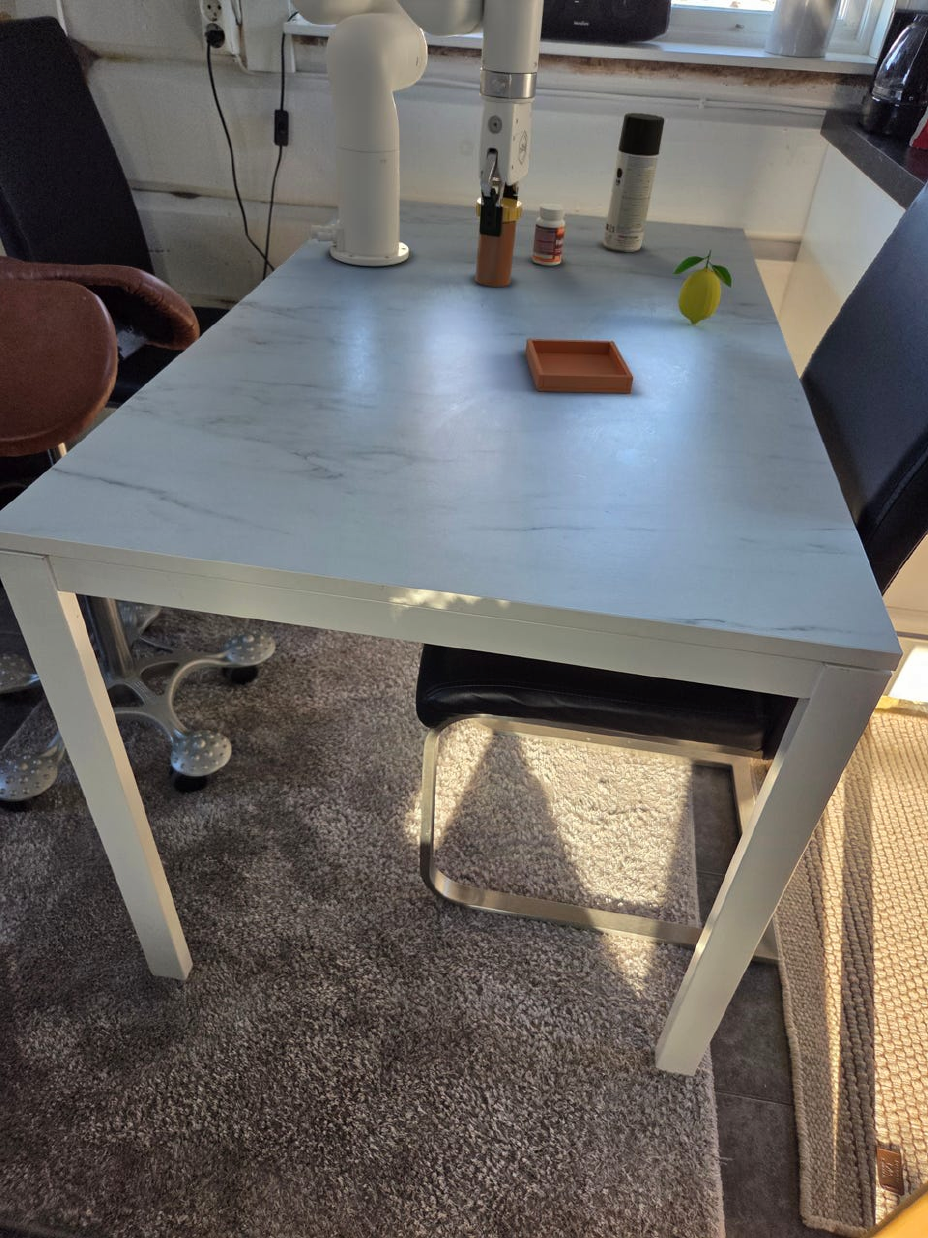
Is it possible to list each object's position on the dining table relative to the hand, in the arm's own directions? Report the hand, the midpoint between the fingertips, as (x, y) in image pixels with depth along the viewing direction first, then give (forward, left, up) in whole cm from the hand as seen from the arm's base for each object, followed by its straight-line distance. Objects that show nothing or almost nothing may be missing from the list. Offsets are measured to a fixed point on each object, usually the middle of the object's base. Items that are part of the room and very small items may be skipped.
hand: (497, 227), depth 122 cm
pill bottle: (+10, +11, -8) cm, 17 cm away
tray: (+7, -34, -8) cm, 35 cm away
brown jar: (0, 0, -8) cm, 8 cm away
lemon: (+27, -16, -8) cm, 32 cm away
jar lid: (0, 0, +3) cm, 3 cm away
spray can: (+25, +21, -8) cm, 34 cm away
